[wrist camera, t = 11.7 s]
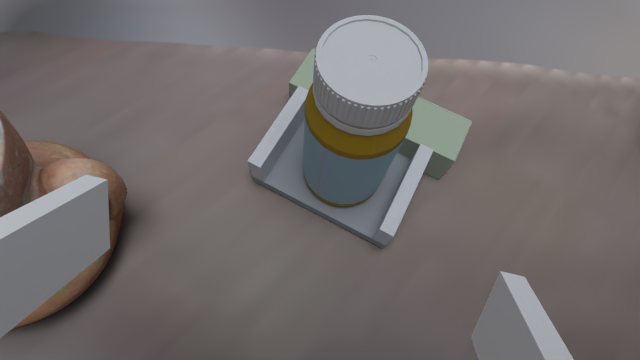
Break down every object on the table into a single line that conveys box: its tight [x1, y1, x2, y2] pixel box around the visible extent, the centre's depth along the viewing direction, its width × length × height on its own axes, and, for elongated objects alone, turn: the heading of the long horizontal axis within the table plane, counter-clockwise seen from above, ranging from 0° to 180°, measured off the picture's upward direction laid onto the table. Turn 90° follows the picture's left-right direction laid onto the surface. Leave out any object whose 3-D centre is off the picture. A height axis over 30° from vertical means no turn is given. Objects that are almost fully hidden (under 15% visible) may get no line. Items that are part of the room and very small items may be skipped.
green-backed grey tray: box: [248, 49, 472, 249], centre depth 34 cm, size 16×13×4 cm
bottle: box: [303, 15, 428, 206], centre depth 27 cm, size 7×7×15 cm
